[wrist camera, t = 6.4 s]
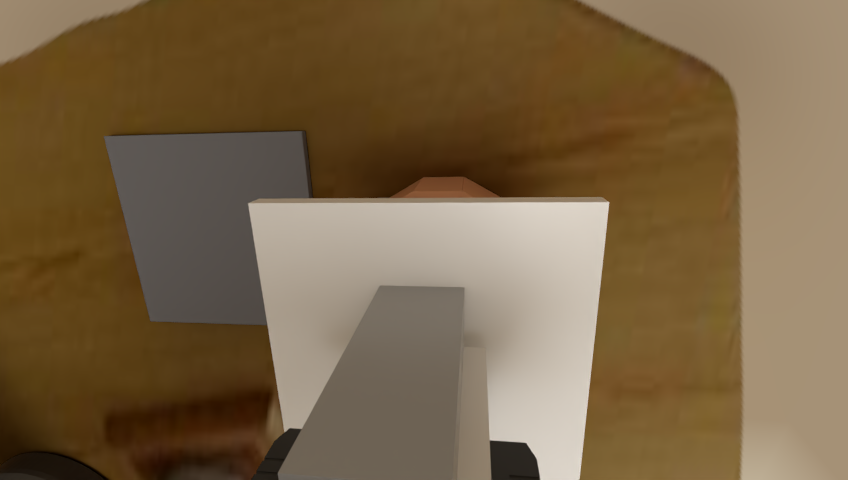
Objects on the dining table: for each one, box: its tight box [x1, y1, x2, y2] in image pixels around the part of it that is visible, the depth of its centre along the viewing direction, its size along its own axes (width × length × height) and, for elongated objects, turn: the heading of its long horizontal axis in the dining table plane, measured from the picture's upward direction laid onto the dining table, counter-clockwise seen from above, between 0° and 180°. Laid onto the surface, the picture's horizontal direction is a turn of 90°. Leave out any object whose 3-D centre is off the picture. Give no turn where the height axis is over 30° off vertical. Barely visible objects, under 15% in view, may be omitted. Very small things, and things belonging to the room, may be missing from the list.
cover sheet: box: [248, 197, 609, 480], centre depth 12 cm, size 12×12×9 cm
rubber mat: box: [104, 131, 313, 325], centre depth 29 cm, size 14×14×1 cm
